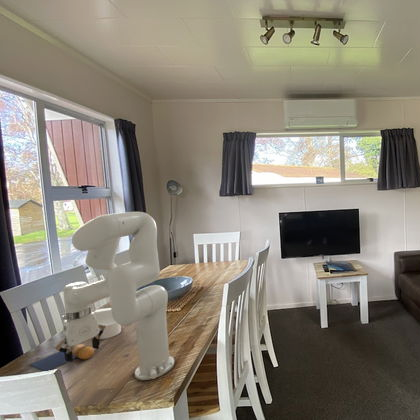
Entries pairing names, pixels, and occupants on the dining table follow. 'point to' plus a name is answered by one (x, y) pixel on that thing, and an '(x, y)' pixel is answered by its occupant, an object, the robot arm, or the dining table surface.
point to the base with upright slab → (107, 323)
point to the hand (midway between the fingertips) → (83, 354)
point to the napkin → (51, 361)
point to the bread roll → (83, 351)
